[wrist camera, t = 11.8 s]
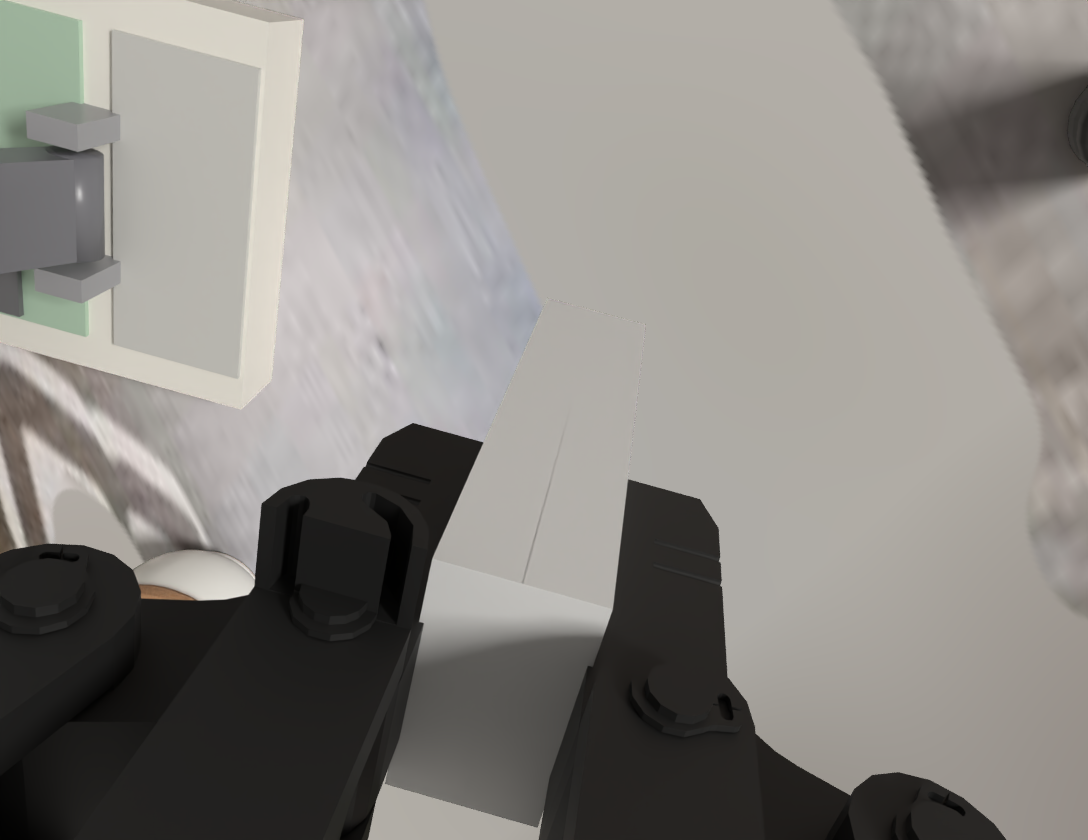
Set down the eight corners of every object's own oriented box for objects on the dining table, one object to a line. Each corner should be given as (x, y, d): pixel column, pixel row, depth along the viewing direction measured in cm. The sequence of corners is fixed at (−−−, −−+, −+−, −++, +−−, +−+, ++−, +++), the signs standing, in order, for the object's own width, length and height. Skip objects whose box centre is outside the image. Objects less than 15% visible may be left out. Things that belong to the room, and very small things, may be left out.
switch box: (304, 19, 42) (231, 26, 36) (271, 380, 52) (209, 439, 45) (-9, -64, 43) (-138, -73, 36) (15, 309, 52) (-84, 357, 45)
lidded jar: (312, 647, 61) (253, 752, 52) (175, 650, 63) (97, 751, 55) (269, 517, 56) (197, 609, 48) (123, 525, 58) (29, 614, 50)
